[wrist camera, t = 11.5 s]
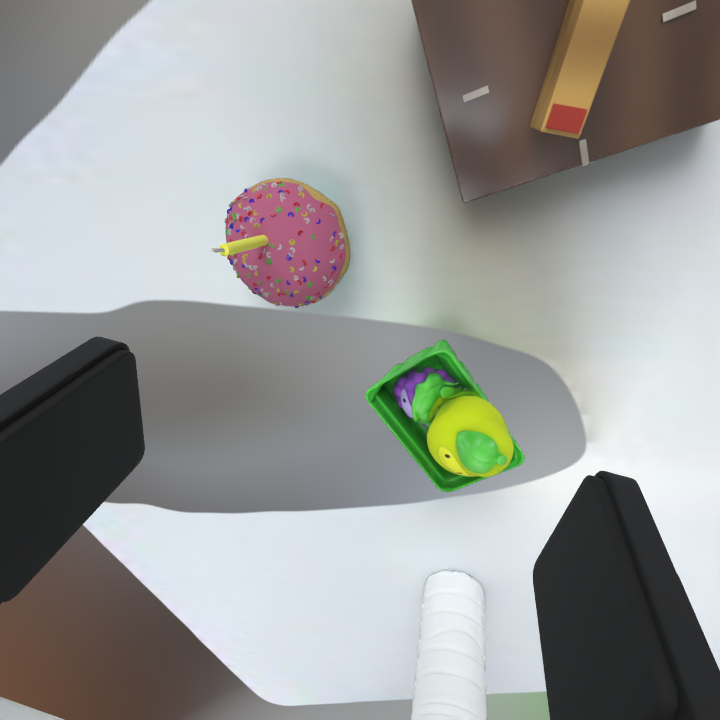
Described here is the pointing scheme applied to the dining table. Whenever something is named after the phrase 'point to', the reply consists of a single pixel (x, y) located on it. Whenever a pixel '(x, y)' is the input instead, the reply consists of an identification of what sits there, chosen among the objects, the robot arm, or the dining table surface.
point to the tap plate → (527, 73)
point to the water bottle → (451, 650)
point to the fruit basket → (444, 419)
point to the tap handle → (577, 65)
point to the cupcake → (286, 242)
